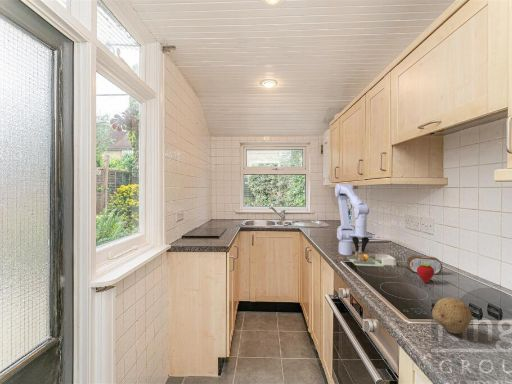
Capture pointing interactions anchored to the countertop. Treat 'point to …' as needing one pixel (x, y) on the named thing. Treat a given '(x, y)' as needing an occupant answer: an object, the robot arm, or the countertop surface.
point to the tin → (418, 260)
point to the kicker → (359, 254)
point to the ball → (366, 257)
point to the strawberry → (425, 272)
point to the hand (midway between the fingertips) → (359, 251)
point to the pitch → (384, 258)
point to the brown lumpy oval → (452, 315)
